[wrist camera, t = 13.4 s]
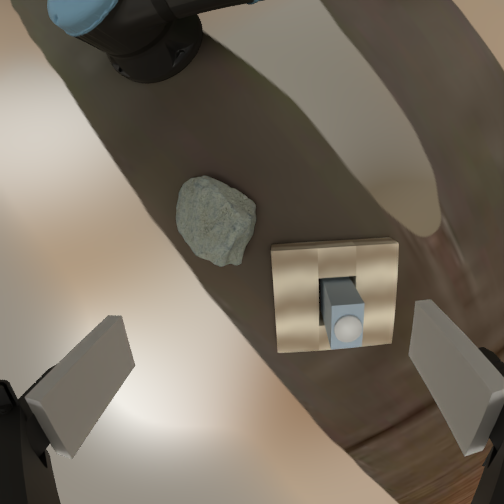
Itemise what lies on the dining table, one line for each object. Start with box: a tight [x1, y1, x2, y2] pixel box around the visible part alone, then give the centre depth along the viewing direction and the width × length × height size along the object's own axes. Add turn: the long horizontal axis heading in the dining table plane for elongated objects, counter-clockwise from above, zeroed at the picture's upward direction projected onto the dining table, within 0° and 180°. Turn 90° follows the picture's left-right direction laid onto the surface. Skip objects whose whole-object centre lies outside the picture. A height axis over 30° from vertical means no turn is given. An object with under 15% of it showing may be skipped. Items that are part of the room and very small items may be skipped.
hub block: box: [271, 237, 399, 353], centre depth 47 cm, size 16×18×4 cm
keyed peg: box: [320, 276, 365, 349], centre depth 43 cm, size 4×6×13 cm, turn 5°
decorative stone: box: [176, 175, 256, 267], centre depth 45 cm, size 13×11×10 cm
